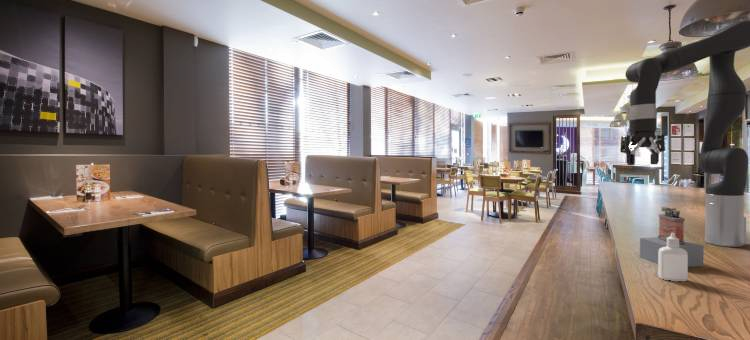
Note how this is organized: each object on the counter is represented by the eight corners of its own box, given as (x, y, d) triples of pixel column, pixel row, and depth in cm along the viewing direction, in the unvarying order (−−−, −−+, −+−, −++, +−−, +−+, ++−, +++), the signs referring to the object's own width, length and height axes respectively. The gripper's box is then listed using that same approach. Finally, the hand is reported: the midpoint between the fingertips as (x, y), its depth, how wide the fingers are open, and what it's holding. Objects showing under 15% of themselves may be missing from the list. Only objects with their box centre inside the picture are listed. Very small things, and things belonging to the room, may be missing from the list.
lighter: (688, 245, 96) (688, 210, 95) (674, 245, 96) (675, 210, 96) (667, 238, 104) (667, 205, 103) (655, 238, 104) (655, 205, 104)
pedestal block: (670, 255, 106) (670, 236, 105) (703, 266, 96) (703, 245, 95) (640, 257, 105) (640, 238, 105) (669, 267, 95) (669, 246, 95)
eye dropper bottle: (686, 284, 83) (687, 236, 83) (657, 279, 87) (657, 233, 87) (687, 279, 86) (688, 233, 86) (659, 274, 90) (659, 230, 90)
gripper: (652, 119, 122) (652, 163, 123) (614, 119, 121) (614, 165, 122) (672, 116, 114) (671, 164, 115) (631, 117, 114) (631, 165, 114)
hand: (642, 164), depth 118 cm, fingers open, 8 cm apart
